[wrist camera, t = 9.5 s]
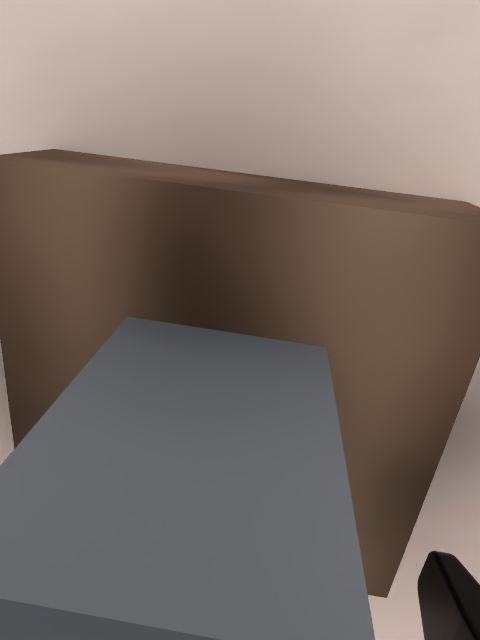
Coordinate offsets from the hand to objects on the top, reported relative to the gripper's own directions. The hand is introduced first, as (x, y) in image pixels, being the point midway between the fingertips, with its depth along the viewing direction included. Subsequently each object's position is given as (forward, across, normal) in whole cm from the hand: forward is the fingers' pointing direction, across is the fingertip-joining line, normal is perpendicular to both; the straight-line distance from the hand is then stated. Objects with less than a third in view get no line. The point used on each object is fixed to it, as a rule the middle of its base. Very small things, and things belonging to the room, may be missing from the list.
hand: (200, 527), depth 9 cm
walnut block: (+8, 0, 0) cm, 8 cm away
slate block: (+4, 0, 0) cm, 4 cm away
